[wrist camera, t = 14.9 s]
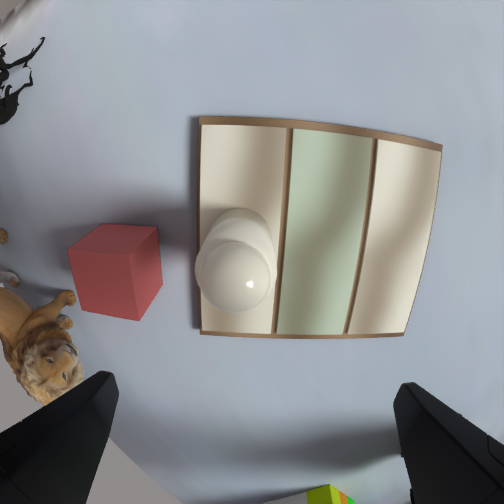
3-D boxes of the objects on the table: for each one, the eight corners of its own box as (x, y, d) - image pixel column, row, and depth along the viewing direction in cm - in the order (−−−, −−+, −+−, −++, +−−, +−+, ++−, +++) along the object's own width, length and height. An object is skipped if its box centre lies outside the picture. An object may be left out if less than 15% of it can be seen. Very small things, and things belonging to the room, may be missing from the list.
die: (128, 255, 14) (62, 248, 15) (140, 326, 16) (79, 313, 16) (159, 225, 18) (100, 221, 18) (165, 286, 20) (109, 279, 20)
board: (437, 144, 16) (444, 145, 16) (400, 331, 21) (404, 337, 21) (201, 117, 16) (198, 116, 16) (201, 329, 21) (199, 336, 20)
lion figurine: (123, 307, 21) (67, 392, 12) (105, 352, 22) (59, 433, 14) (-12, 214, 18) (-88, 251, 10) (-18, 264, 20) (-82, 309, 11)
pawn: (273, 209, 17) (284, 250, 11) (269, 268, 19) (276, 334, 12) (209, 206, 17) (183, 246, 11) (209, 265, 19) (188, 330, 12)
